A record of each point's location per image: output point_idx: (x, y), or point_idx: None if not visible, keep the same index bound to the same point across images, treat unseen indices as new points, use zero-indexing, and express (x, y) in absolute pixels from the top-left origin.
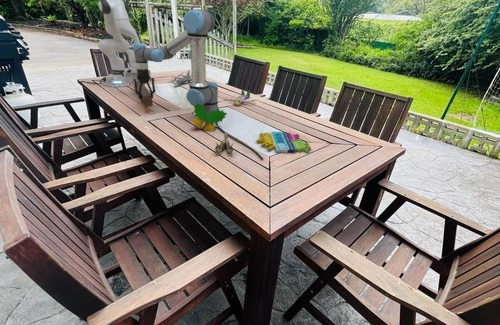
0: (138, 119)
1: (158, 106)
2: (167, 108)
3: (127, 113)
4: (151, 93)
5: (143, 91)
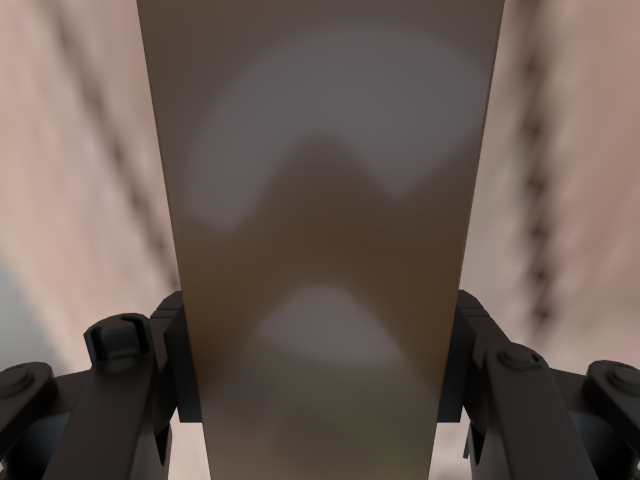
0: (202, 458)
1: (497, 108)
2: (571, 235)
3: (84, 287)
4: (467, 458)
5: (280, 184)
